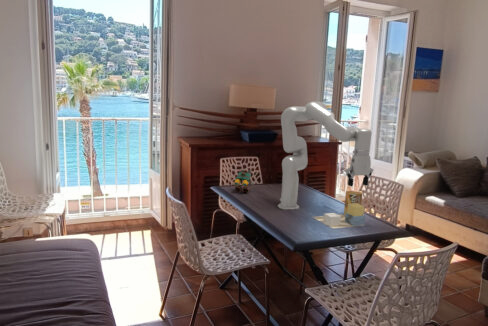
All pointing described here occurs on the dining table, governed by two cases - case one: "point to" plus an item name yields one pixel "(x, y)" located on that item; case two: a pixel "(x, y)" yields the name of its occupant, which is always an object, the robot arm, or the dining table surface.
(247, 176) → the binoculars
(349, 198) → the candy box
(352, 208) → the mustard block
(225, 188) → the dining table surface
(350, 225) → the build board
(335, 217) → the cream block
